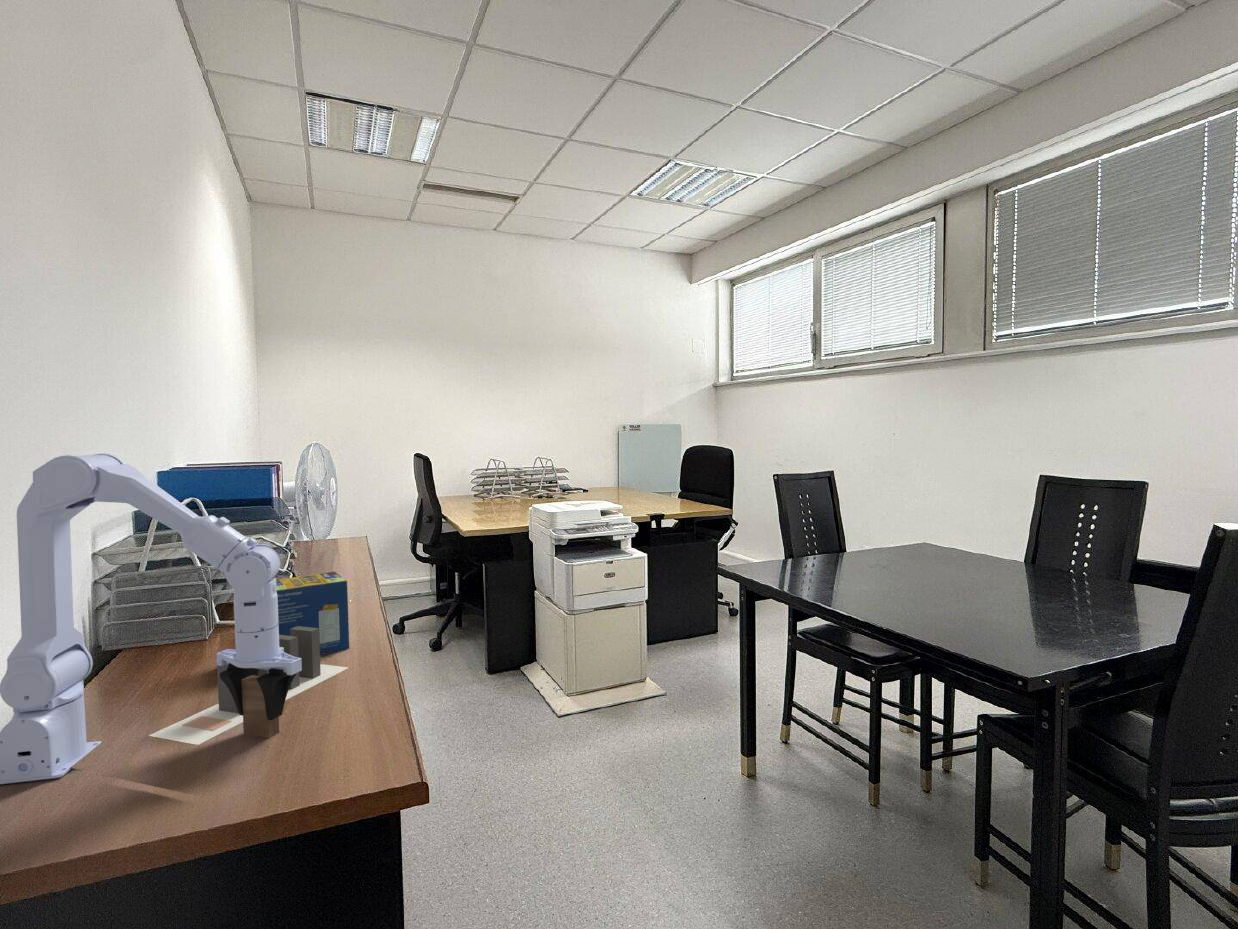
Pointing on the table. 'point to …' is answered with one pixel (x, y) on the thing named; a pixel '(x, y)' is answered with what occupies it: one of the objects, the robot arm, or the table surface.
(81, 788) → the table surface
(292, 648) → the domino
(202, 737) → the board
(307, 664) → the domino
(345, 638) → the protein box
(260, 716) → the domino
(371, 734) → the table surface
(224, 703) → the domino
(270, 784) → the table surface
